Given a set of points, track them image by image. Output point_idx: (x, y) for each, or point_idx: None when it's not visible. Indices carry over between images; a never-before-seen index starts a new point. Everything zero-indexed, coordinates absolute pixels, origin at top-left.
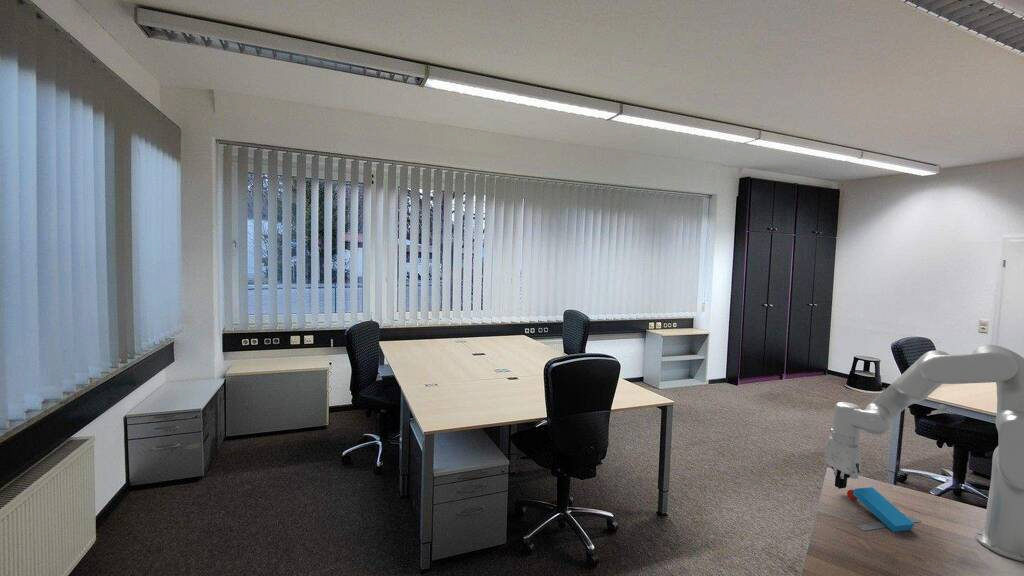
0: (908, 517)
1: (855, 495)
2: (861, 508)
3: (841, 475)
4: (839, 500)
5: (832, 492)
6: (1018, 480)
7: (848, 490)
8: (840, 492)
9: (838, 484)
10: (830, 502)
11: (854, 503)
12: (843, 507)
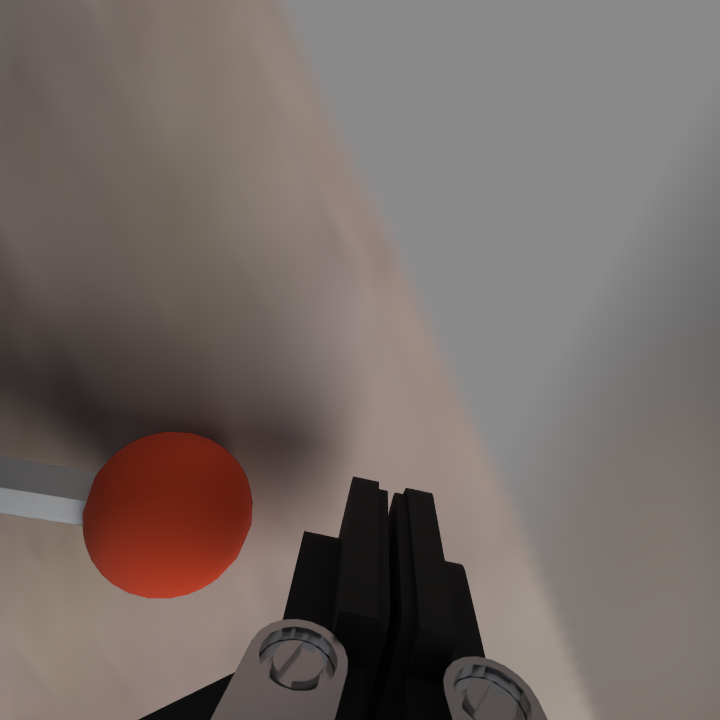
0: None
1: None
2: (12, 357)
3: (300, 700)
4: (250, 276)
5: (424, 405)
6: None
7: (218, 521)
8: None
9: (365, 513)
10: (267, 68)
11: (126, 398)
12: (102, 124)
